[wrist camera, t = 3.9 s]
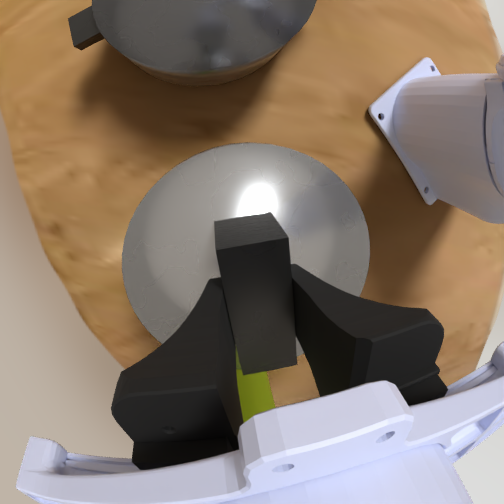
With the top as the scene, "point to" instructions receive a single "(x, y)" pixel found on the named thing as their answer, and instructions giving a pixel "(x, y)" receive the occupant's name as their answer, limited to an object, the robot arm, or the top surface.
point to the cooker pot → (192, 35)
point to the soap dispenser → (254, 393)
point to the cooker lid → (243, 244)
